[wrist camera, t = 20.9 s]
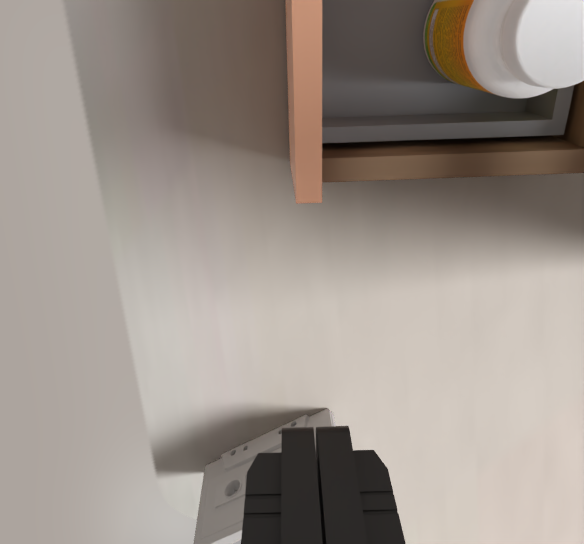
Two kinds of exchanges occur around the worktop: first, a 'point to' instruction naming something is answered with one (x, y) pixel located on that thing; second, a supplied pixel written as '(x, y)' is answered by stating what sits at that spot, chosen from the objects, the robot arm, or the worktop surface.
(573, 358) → the worktop surface
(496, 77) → the supplement bottle
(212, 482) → the cassette
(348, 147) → the caddy
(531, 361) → the worktop surface
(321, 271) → the worktop surface
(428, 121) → the drawer
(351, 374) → the worktop surface
